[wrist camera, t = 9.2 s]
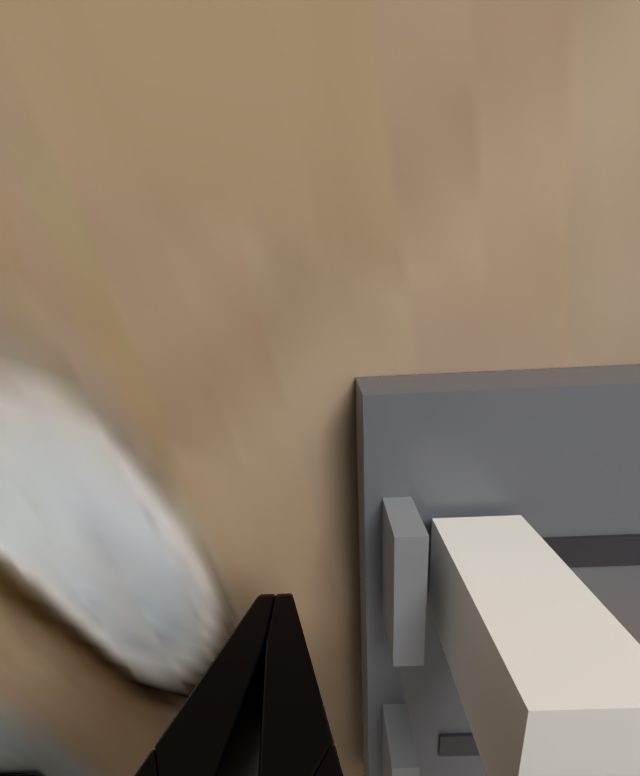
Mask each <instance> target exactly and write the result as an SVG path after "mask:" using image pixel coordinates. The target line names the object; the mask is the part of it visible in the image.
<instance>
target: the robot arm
mask: <svg viewBox="0 0 640 776" xmlns="http://www.w3.org/2000/svg"><path fill="white" fill-rule="evenodd" d="M0 776H34V775H29V774H24V775H0ZM134 776H343V773H342V769H341V766H340V762H339V759H338V755H337V751H336V748H335V746H334V742H333V738H332V734H331V731H330V727H329V723H328V720H327V716H326V713H325V709H324V706H323V702H322V698H321V695H320V691H319V688H318V684H317V680H316V677H315V673H314V670H313V666H312V663H311V659H310V655H309V652H308V648H307V645H306V641H305V638H304V634H303V630H302V627H301V623H300V620H299V616H298V612H297V609H296V605H295V602H294V598H293V595H292V594H290V593H287V594H277V595H276V596H275V595H274V594H261V595H259V596H258V597H257V598H256V600H255V601H254V603H253V604H252V606H251V607H250V609H249V610H248V612H247V613H246V614H245V616H244V617H243V619H242V620H241V622H240V623H239V625H238V626H237V628H236V629H235V630H234V632H233V633H232V635H231V636H230V638H229V639H228V641H227V642H226V644H225V645H224V646H223V648H222V649H221V651H220V652H219V654H218V655H217V657H216V658H215V660H214V661H213V662H212V664H211V665H210V667H209V668H208V670H207V671H206V673H205V674H204V675H203V677H202V678H201V680H200V681H199V683H198V684H197V686H196V687H195V689H194V690H193V691H192V693H191V694H190V696H189V697H188V699H187V700H186V702H185V703H184V705H183V706H182V707H181V709H180V710H179V712H178V713H177V715H176V716H175V718H174V719H173V721H172V722H171V723H170V725H169V726H168V728H167V729H166V731H165V732H164V734H163V735H162V736H161V738H160V739H159V741H158V742H157V744H156V745H155V750H152V751H151V752H150V754H149V755H148V756H147V758H146V759H145V761H144V762H143V764H142V765H141V767H140V768H139V770H138V771H137V773H136V774H135V775H134Z"/></svg>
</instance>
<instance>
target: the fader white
mask: <svg viewBox="0 0 640 776" xmlns="http://www.w3.org/2000/svg"><path fill="white" fill-rule="evenodd" d="M428 606H429V609H430V612H431V615H432V618H433V621H434V624H435V627H436V630H437V633H438V635H439V638H440V641H441V644H442V647H443V650H444V653H445V656H446V659H447V661H448V664H449V667H450V670H451V673H452V676H453V679H454V682H455V685H456V687H457V690H458V693H459V696H460V699H461V702H462V705H463V708H464V711H465V713H466V716H467V719H468V722H469V725H470V728H471V731H472V734H473V737H474V740H475V742H476V745H477V748H478V751H479V754H480V757H481V760H482V763H483V766H484V768H485V771H486V774H487V776H640V644H639V643H638V642H637V641H636V640H635V639H634V638H633V636H632V635H631V634H630V633H629V632H628V631H627V630H626V629H625V628H624V627H623V626H622V625H621V623H620V622H619V621H618V620H617V619H616V618H615V617H614V616H613V615H612V614H611V613H610V611H609V610H608V609H607V608H606V607H605V606H604V605H603V604H602V603H601V602H600V601H599V599H598V598H597V597H596V596H595V595H594V594H593V593H592V592H591V591H590V590H589V589H588V587H587V586H586V585H585V584H584V583H583V582H582V581H581V580H580V579H579V578H578V577H577V576H576V574H575V573H574V572H573V571H572V570H571V569H570V568H569V567H568V566H567V565H566V564H565V562H564V561H563V560H562V559H561V558H560V557H559V556H558V555H557V554H556V553H555V552H554V550H553V549H552V548H551V547H550V546H549V545H548V544H547V543H546V542H545V541H544V540H543V539H542V537H541V536H540V535H539V534H538V533H537V532H536V531H535V530H534V529H533V528H532V527H531V525H530V524H529V523H528V522H527V521H526V520H525V519H524V518H523V517H522V516H521V515H508V516H482V517H455V518H432V533H431V556H430V578H429V600H428Z"/></svg>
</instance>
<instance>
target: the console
mask: <svg viewBox="0 0 640 776" xmlns="http://www.w3.org/2000/svg"><path fill="white" fill-rule="evenodd" d="M355 384H356V430H357V476H358V523H359V569H360V615H361V661H362V708H363V754H364V773H365V776H487V774H486V771H485V768H484V766H483V763H482V760H481V757H480V754H479V751H478V748H477V745H476V742H475V740H474V737H473V734H472V731H471V728H470V725H469V722H468V719H467V716H466V713H465V711H464V708H463V705H462V702H461V699H460V696H459V693H458V690H457V687H456V685H455V682H454V679H453V676H452V673H451V670H450V667H449V664H448V661H447V659H446V656H445V653H444V650H443V647H442V644H441V641H440V638H439V635H438V633H437V630H436V627H435V624H434V621H433V618H432V615H431V612H430V609H429V606H428V600H429V578H430V556H431V533H432V518H455V517H482V516H508V515H521V516H522V517H523V518H524V519H525V520H526V521H527V522H528V523H529V524H530V525H531V527H532V528H533V529H534V530H535V531H536V532H537V533H538V534H539V535H540V536H541V537H542V539H543V540H544V541H545V542H546V543H547V544H548V545H549V546H550V547H551V548H552V549H553V550H554V552H555V553H556V554H557V555H558V556H559V557H560V558H561V559H562V560H563V561H564V562H565V564H566V565H567V566H568V567H569V568H570V569H571V570H572V571H573V572H574V573H575V574H576V576H577V577H578V578H579V579H580V580H581V581H582V582H583V583H584V584H585V585H586V586H587V587H588V589H589V590H590V591H591V592H592V593H593V594H594V595H595V596H596V597H597V598H598V599H599V601H600V602H601V603H602V604H603V605H604V606H605V607H606V608H607V609H608V610H609V611H610V613H611V614H612V615H613V616H614V617H615V618H616V619H617V620H618V621H619V622H620V623H621V625H622V626H623V627H624V628H625V629H626V630H627V631H628V632H629V633H630V634H631V635H632V636H633V638H634V639H635V640H636V641H637V642H638V643H639V644H640V364H637V365H616V366H594V367H572V368H550V369H528V370H507V371H485V372H463V373H441V374H419V375H398V376H376V377H355Z"/></svg>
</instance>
